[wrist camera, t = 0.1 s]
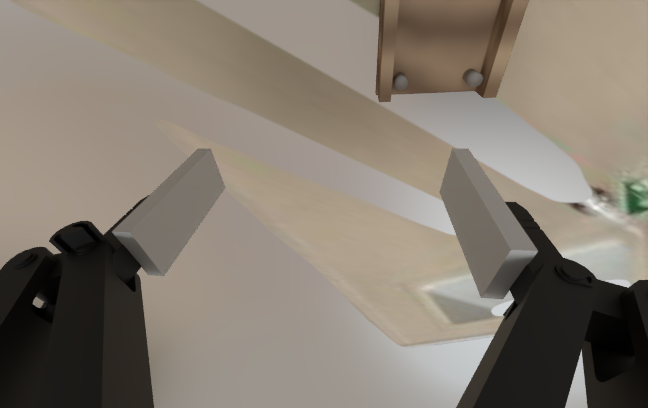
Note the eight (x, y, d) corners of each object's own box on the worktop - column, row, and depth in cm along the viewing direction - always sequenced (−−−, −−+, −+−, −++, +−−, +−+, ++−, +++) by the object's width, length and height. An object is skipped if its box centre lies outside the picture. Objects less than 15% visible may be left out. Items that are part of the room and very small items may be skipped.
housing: (383, -64, 27) (387, -72, 24) (536, -83, 25) (564, -95, 22) (375, 91, 37) (377, 102, 34) (484, 87, 35) (497, 97, 32)
